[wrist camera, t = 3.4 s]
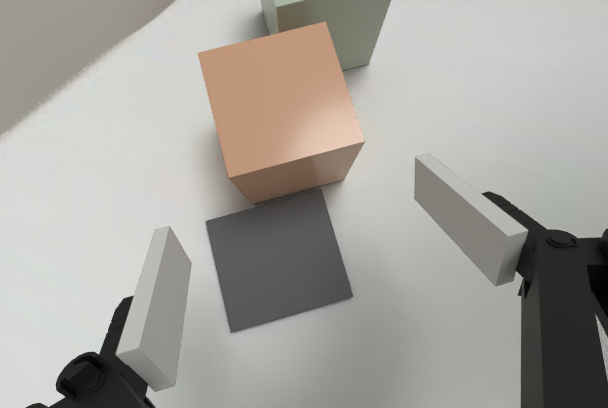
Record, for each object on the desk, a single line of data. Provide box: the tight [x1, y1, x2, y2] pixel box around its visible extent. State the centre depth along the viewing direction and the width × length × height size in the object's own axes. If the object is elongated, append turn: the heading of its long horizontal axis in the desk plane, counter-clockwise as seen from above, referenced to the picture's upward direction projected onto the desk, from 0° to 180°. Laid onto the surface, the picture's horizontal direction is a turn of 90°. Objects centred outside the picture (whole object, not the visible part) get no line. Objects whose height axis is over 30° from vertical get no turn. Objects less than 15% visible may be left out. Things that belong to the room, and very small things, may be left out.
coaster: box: [206, 190, 353, 333], centre depth 28 cm, size 11×10×1 cm
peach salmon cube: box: [198, 21, 365, 204], centre depth 25 cm, size 9×9×10 cm
